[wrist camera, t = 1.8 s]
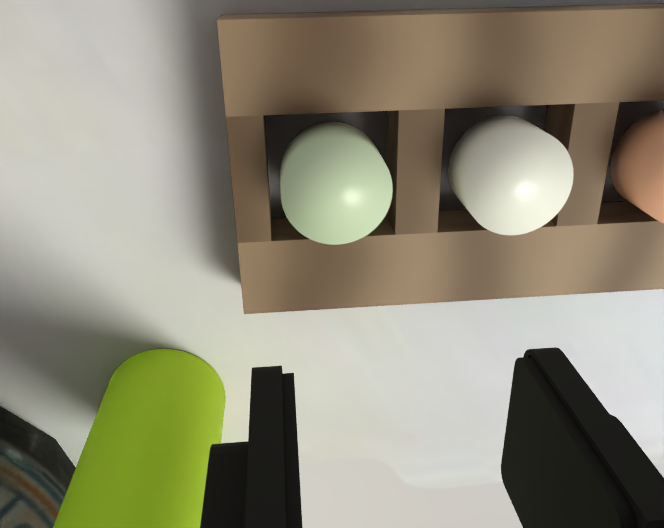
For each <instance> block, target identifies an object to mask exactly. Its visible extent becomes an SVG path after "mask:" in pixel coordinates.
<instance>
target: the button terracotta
mask: <svg viewBox="0 0 664 528" xmlns="http://www.w3.org/2000/svg"><path fill="white" fill-rule="evenodd" d="M610 174H611V179H612V183H613V185H614V187H615V189H616V190H617V192H618V193H619V194H620V195H621V196H622V197H623V198H625V199H626V200H628V201H629V202H631V203H632V204H634V205H635V206H637V207H638V208H640V209H641V210H643V211H644V212H646V213H647V214H649V215H650V216H652V217H653V218H655V219H656V220H658V221H659V222H661V223H663V224H664V109H663V110H658V111H655V112H652V113H650V114H648V115H646V116H644V117H642V118H641V119H639V120H637V121H636V122H635V123H634V124H633V125H631V126H630V127H629V128H628V129H627V130H626V132H625V133H624V134H623V135H622V137H621V138H620V140H619V141H618V143H617V145H616V147H615V149H614V152H613V155H612V159H611V165H610Z"/></svg>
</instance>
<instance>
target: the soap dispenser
mask: <svg viewBox="0 0 664 528" xmlns="http://www.w3.org/2000/svg"><path fill="white" fill-rule="evenodd" d="M224 407H225V390H224V386H223V383H222V381H221V379H220V377H219V376H218V374H217V373H216V372H215V370H214V369H213V368H212V367H211V366H210V365H209V364H207V363H206V362H205V361H203V360H202V359H200V358H198V357H197V356H194V355H192V354H190V353H187V352H184V351H179V350H174V349H154V350H148V351H144V352H141V353H139V354H136V355H134V356H132V357H130V358H129V359H127V360H126V361H124V362H123V363H122V364H121V365H120V366H119V367H118V368H117V369H116V370H115V372H114V373H113V375H112V377H111V379H110V381H109V384H108V386H107V389H106V392H105V394H104V397H103V399H102V402H101V405H100V407H99V410H98V412H97V415H96V417H95V420H94V423H93V425H92V428H91V430H90V433H89V436H88V438H87V441H86V443H85V446H84V448H83V451H82V454H81V456H80V459H79V461H78V464H77V467H76V469H75V472H74V474H73V477H72V479H71V482H70V485H69V487H68V490H67V492H66V495H65V498H64V500H63V503H62V505H61V508H60V510H59V513H58V516H57V518H56V521H55V523H54V526H53V528H200V524H201V516H202V508H203V500H204V492H205V484H206V476H207V468H208V460H209V453H210V447H211V445H212V444H221V436H222V426H223V417H224Z"/></svg>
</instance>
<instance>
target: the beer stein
mask: <svg viewBox="0 0 664 528" xmlns="http://www.w3.org/2000/svg"><path fill="white" fill-rule="evenodd" d="M75 469H76V468H75V466H74V465H73V463H72V462H71V461H70V459H69V458H68V456H67V455H66V454H65V452H64V451H63V449H62V448H61V447H60V445H59V444H58V442H57V441H56V440H55V439H54V438H52V437H51V436H49V435H47V434H46V433H44V432H42V431H41V430H39V429H37V428H36V427H34V426H32V425H31V424H29V423H27V422H26V421H24V420H22V419H21V418H19V417H17V416H16V415H14V414H12V413H11V412H9V411H7V410H6V409H4V408H2V407H1V406H0V528H53V526H54V523H55V521H56V518H57V516H58V513H59V510H60V508H61V505H62V503H63V500H64V498H65V495H66V492H67V490H68V487H69V485H70V482H71V479H72V477H73V474H74V472H75Z"/></svg>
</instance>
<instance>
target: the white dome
mask: <svg viewBox="0 0 664 528" xmlns="http://www.w3.org/2000/svg"><path fill="white" fill-rule="evenodd" d="M573 176H574V175H573V165H572V161H571V158H570V155H569V153H568V151H567V150H566V148H565V147H564V146H563V144H562V143H561V142H559V141H558V140H557V139H556V138H554V137H553V136H551V135H550V134H548V133H546V132H545V131H543V130H541V129H540V128H538V127H537V126H535V125H533V124H532V123H530V122H528V121H527V120H525V119H523V118H520V117H516V116H511V115H500V116H494V117H490V118H487V119H484V120H482V121H480V122H478V123H477V124H475V125H474V126H472V127H471V128H470V129H469V130H467V131H466V132H465V133H464V134H463V136H462V137H461V138H460V139H459V141H458V142H457V144H456V146H455V147H454V149H453V152H452V154H451V158H450V162H449V180H450V184H451V187H452V189H453V191H454V193H455V194H456V196H457V197H458V199H459V200H460V201H461V202H462V204H463V205H464V206H465V207H466V209H467V210H468V211H469V212H470V214H471V215H472V216H473V217H474V219H475V220H476V221H477V222H478V223H479V224H480V225H481V226H483V227H484V228H486V229H487V230H489V231H491V232H494V233H497V234H501V235H521V234H525V233H528V232H531V231H534V230H536V229H538V228H540V227H542V226H543V225H545V224H546V223H548V222H549V221H550V220H551V219H553V218H554V217H555V216H556V215H557V214H558V212H559V211H560V210H561V209H562V207H563V206H564V204H565V203H566V201H567V199H568V197H569V194H570V191H571V188H572V184H573Z"/></svg>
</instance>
